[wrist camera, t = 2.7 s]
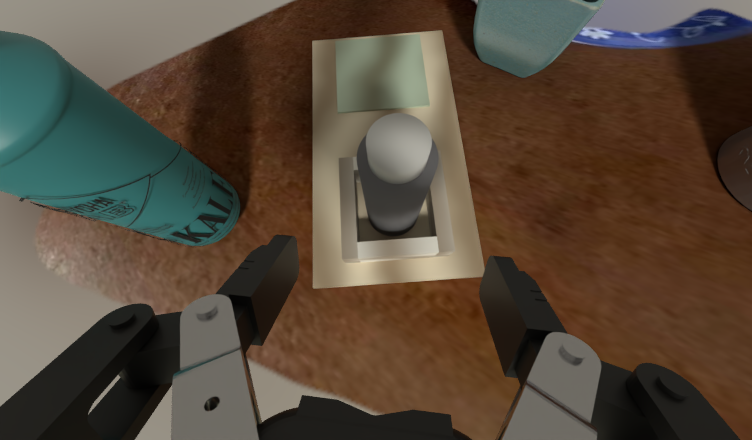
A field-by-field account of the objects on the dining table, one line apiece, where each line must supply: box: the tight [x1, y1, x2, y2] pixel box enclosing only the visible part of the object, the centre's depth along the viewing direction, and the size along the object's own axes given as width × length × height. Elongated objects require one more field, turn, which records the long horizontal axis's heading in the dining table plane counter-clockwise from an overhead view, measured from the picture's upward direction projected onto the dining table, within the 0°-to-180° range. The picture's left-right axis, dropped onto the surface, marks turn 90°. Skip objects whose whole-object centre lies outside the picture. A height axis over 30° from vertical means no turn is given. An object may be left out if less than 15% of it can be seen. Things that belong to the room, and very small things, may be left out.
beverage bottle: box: [0, 31, 240, 247], centre depth 15 cm, size 6×7×20 cm
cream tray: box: [312, 30, 485, 289], centre depth 25 cm, size 14×26×3 cm, turn 4°
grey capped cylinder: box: [357, 113, 439, 236], centre depth 19 cm, size 4×4×11 cm
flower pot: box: [473, 0, 605, 78], centre depth 25 cm, size 9×9×9 cm
